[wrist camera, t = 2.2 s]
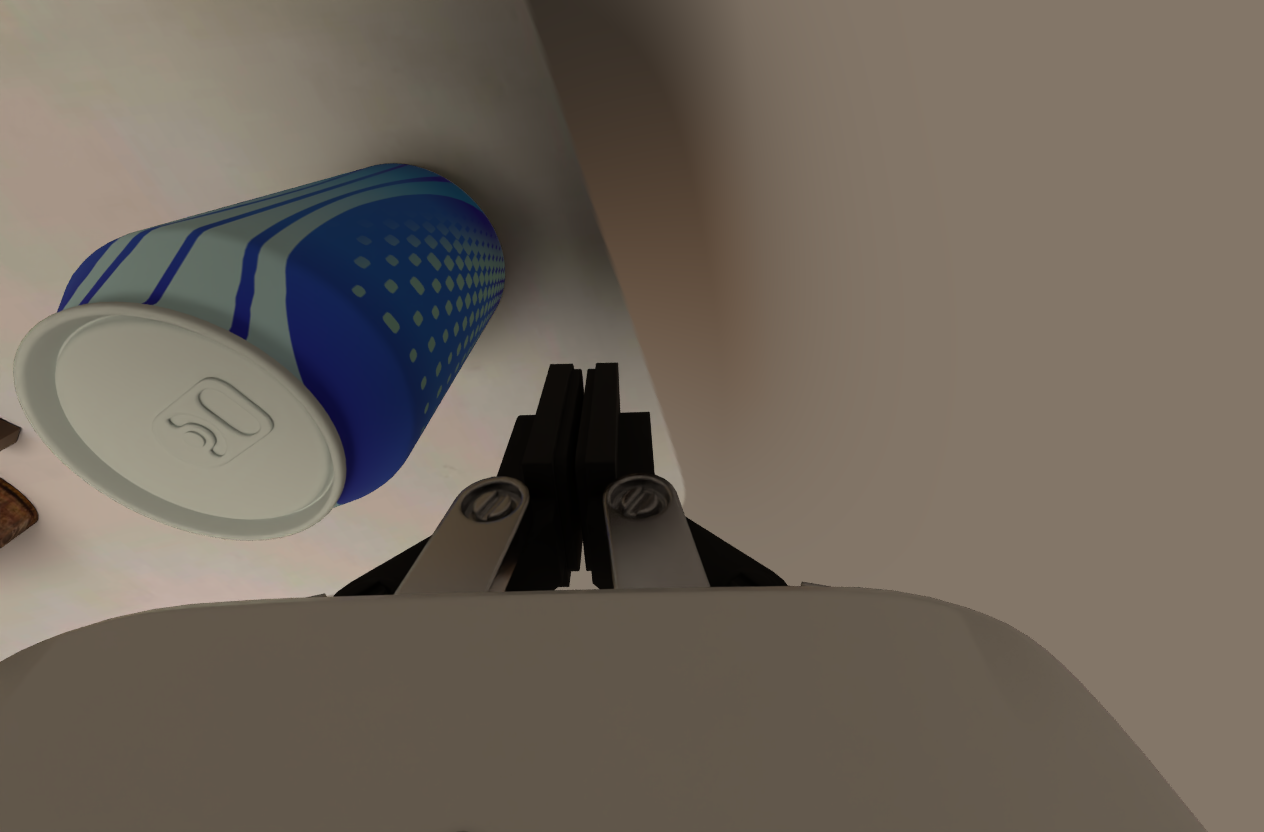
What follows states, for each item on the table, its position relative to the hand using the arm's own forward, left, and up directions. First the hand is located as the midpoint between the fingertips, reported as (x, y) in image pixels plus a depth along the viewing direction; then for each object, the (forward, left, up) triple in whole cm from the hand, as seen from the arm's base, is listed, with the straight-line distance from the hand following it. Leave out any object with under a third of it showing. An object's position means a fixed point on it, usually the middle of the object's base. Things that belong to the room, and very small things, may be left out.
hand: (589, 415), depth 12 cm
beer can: (-4, -8, -15) cm, 17 cm away
